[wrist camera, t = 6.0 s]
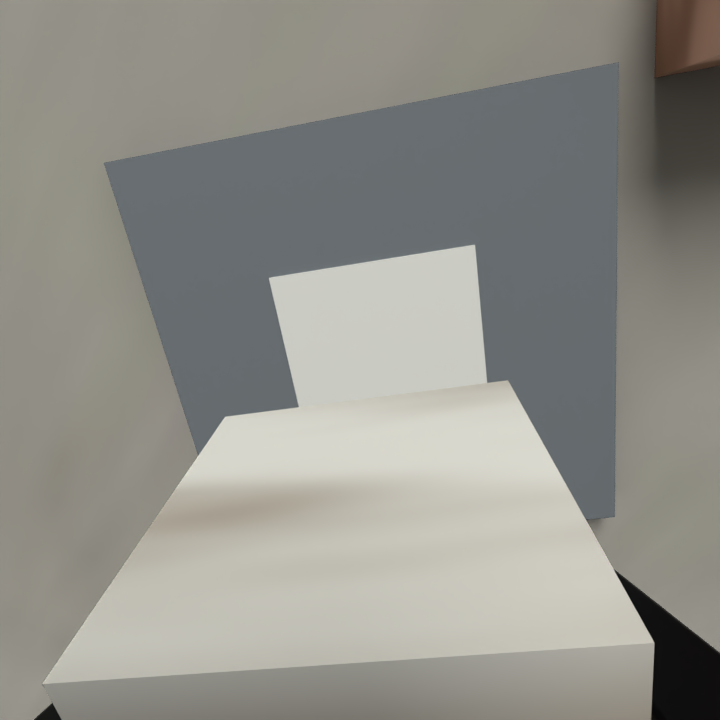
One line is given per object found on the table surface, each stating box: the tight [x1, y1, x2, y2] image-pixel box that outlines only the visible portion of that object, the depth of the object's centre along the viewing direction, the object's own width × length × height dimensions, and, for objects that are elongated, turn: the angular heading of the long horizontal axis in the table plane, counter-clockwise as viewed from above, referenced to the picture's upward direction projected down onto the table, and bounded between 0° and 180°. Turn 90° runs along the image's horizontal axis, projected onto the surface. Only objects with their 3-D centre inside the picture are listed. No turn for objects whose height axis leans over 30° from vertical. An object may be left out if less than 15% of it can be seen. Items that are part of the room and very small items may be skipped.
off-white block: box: [42, 380, 655, 720], centre depth 7 cm, size 5×5×5 cm
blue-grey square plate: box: [104, 62, 619, 520], centre depth 18 cm, size 16×16×1 cm
